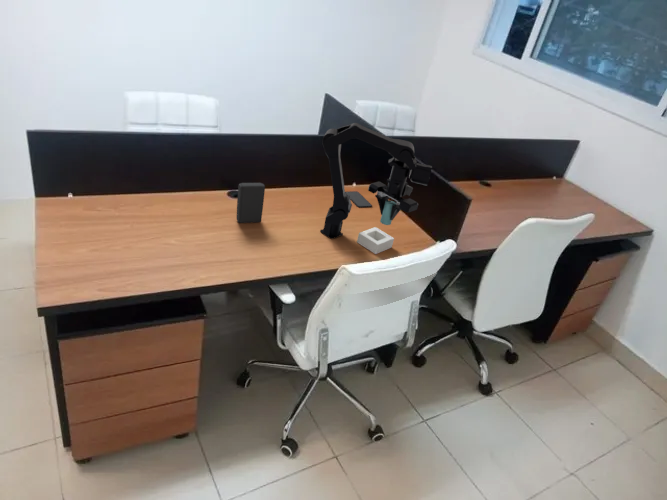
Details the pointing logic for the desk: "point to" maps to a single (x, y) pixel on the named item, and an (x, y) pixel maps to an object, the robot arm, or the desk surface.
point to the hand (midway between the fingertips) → (386, 217)
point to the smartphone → (358, 199)
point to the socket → (375, 240)
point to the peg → (387, 212)
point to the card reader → (250, 202)
